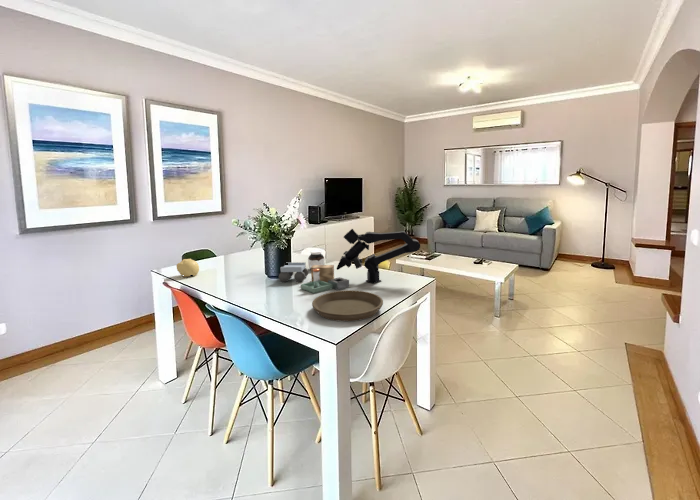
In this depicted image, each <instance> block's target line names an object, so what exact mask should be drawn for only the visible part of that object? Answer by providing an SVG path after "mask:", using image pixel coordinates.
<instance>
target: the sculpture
mask: <svg viewBox="0 0 700 500" xmlns="http://www.w3.org/2000/svg"><path fill="white" fill-rule="evenodd" d="M176 270H177V272H178V273H179V274H180V276H181V275H184V276H182V277H183V278H187V277H191V276H190V275H193V276H192V277H194V276H195V277H196V276H197V275H198V274H199V272H200V266H199V264H198V263H197V260H194V259H192V258H184V259H182V260H181V261H180V262H178V263H177V264H176Z"/></svg>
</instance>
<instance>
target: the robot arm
mask: <svg viewBox="0 0 700 500" xmlns="http://www.w3.org/2000/svg"><path fill="white" fill-rule="evenodd" d="M343 239H345V241H347V242H348V244H349V245H351V244H353V245H352V246H351V247H350V248H349V249H348V250H345V251H344V252H343V255H342V256H341V258H340V260H339V262H338V264H337V266H336V270H341V269H342V268H343V267H345V266H346V267H347V268H350V267H351V266H352V263H353V264H354V266H355V269H359V268H361V267H362V266H363V264H362V262H363V260H362V258H359V256H360V254H362V252H364V250H365V249H366V250H367V251H369V250H370V244H374V243H377V242H381V241H389V240H402V241H403V242H404V244H403V245H402V246H399V247H396V248H394V249H392V250H389V251H387V252H383V253H381V254H379V255H376V254H375V253H373V254H371V255H368V256H367V257H366V258H365V260H364V268H365V269H367V272H366V277H367V278H366V280H365V282H367V283H371V284H376V283H380V282H382V279H380V270H379V268H380V267H379V266H380V264H382V263H384V262H386V261H389V260H391V259H395V258H396V257H399V256H402V255H404V254H407V253H408V254H410V253H414V252H418V251H420V248H421V244H420V242H419V240H417V239H416V238H412V236H410V235H409V234H407V233H406V231H404V230H401V231H394V232H393V231H392V232H390V231H389V232H374V231H365V232H364V233H362V234H358V233H357V232H356V231H355V230H354V228H351V229H350V230H349V231H347V232H346V233H345V234H344V235H343Z"/></svg>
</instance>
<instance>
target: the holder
mask: <svg viewBox="0 0 700 500" xmlns="http://www.w3.org/2000/svg"><path fill="white" fill-rule="evenodd" d="M328 283H330V284H333V289H332V290H334V291H342V290H344V289H348V288H350V279H346V278H343V277H341V276H340V277H334V279H330V280H328Z"/></svg>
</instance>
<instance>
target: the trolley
mask: <svg viewBox="0 0 700 500" xmlns="http://www.w3.org/2000/svg"><path fill="white" fill-rule="evenodd" d="M287 263H288V265H285V264H284V265H283V266H280V273H278V279H279V281H280V282H282V283H286V282H288V281H289V280H290V278H292V277H293V275H294V277H293V278H294V281H296V282H297V283H302V282H304V280H305V279H306V277H308V275H309V270H308V268H307V266H306V262H287Z"/></svg>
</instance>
